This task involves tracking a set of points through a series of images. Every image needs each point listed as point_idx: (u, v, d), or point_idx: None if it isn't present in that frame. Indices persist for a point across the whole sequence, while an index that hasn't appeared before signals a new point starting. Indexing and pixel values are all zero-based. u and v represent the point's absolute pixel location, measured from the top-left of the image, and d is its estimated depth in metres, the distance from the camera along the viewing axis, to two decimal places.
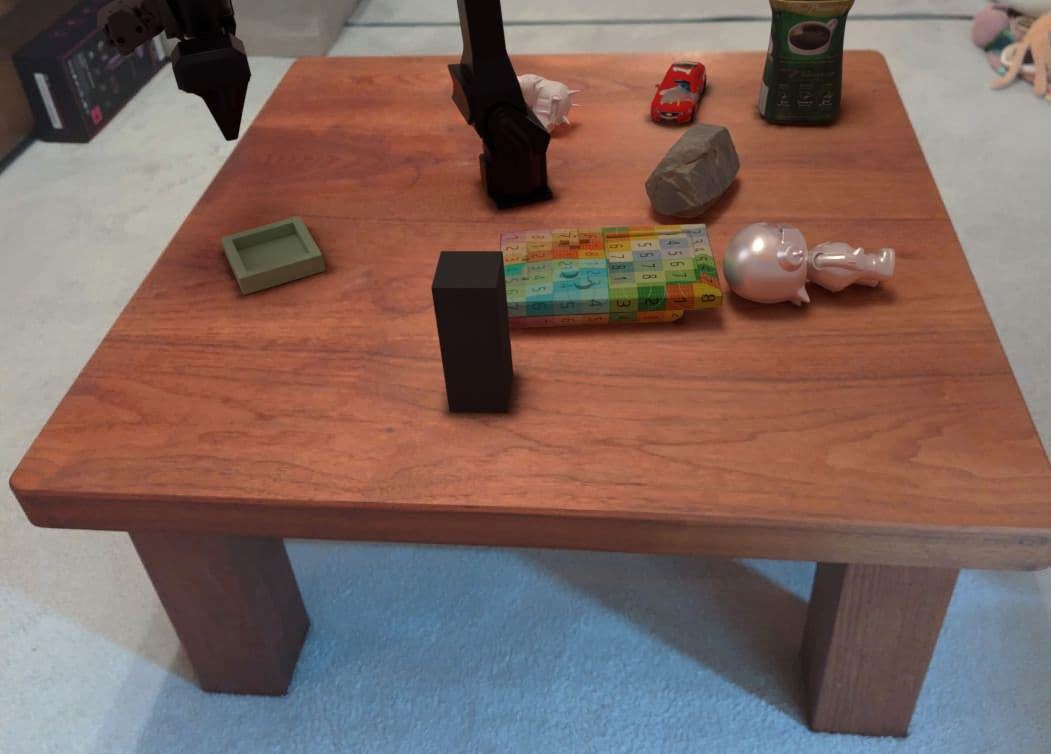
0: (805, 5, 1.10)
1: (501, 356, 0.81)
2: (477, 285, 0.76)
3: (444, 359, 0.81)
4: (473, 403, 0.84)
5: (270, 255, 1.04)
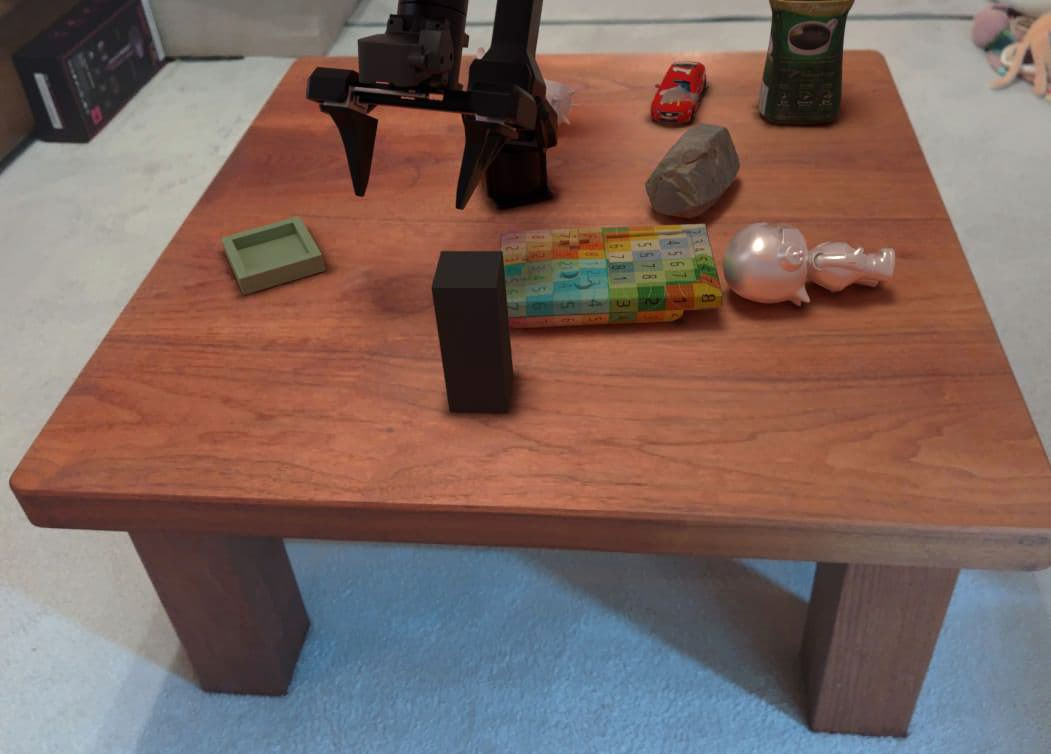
0: (805, 5, 1.10)
1: (501, 356, 0.81)
2: (477, 285, 0.76)
3: (444, 359, 0.81)
4: (473, 403, 0.84)
5: (270, 255, 1.04)
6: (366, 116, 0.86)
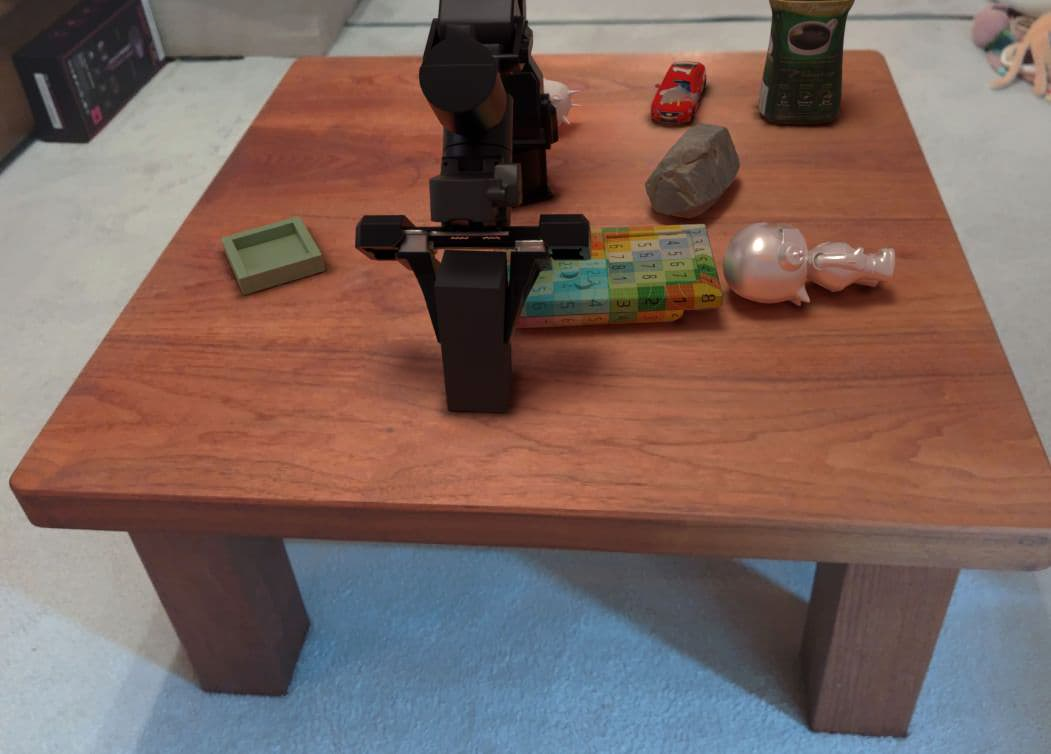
0: (805, 5, 1.10)
1: (501, 356, 0.81)
2: (480, 285, 0.76)
3: (444, 358, 0.81)
4: (472, 402, 0.84)
5: (270, 255, 1.04)
6: (438, 261, 0.83)
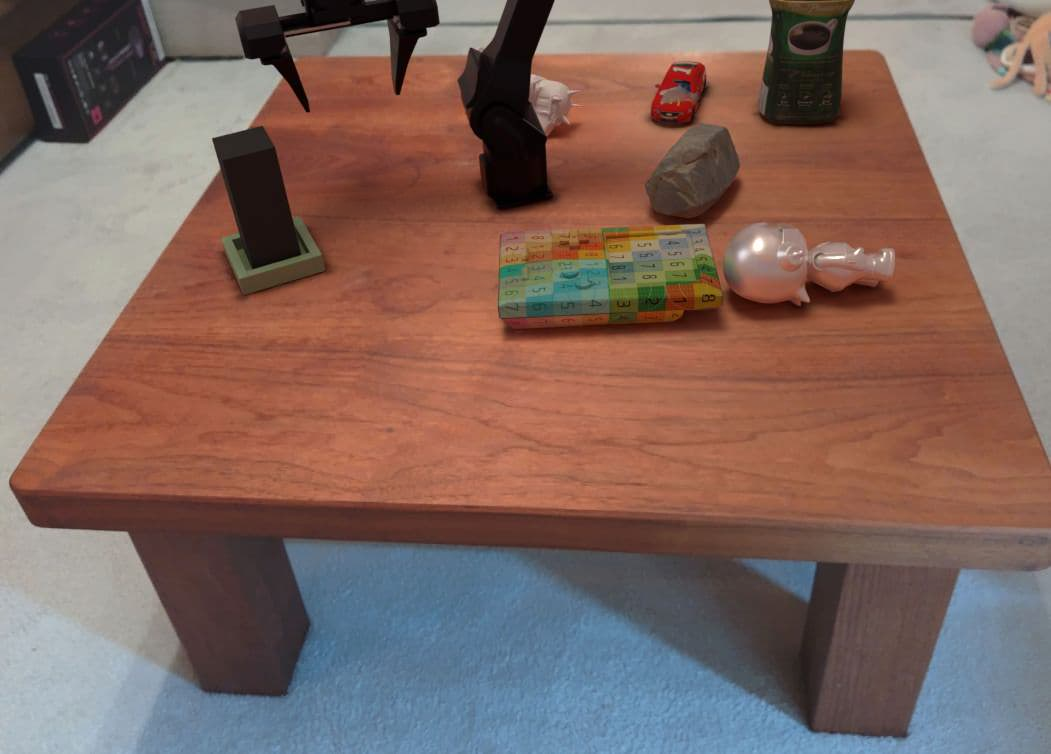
0: (805, 5, 1.10)
1: (240, 222, 0.97)
2: (221, 152, 0.94)
3: None
4: (246, 252, 1.02)
5: None
6: (393, 29, 0.98)
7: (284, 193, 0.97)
